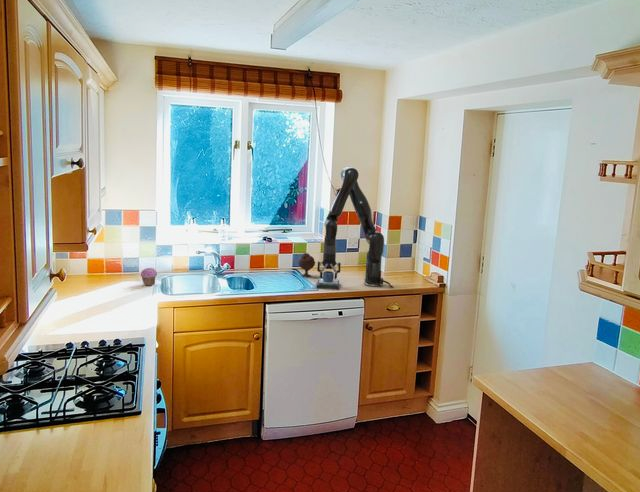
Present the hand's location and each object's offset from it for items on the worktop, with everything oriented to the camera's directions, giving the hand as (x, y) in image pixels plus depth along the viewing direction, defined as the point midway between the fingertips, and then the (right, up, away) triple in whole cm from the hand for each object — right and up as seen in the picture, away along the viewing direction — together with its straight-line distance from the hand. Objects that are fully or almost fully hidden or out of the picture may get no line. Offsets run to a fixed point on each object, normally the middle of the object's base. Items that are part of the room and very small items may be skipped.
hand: (328, 278), depth 281 cm
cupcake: (-105, -2, -12) cm, 105 cm away
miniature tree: (-13, -1, +21) cm, 25 cm away
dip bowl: (0, -1, 0) cm, 1 cm away
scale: (0, -4, -1) cm, 4 cm away
